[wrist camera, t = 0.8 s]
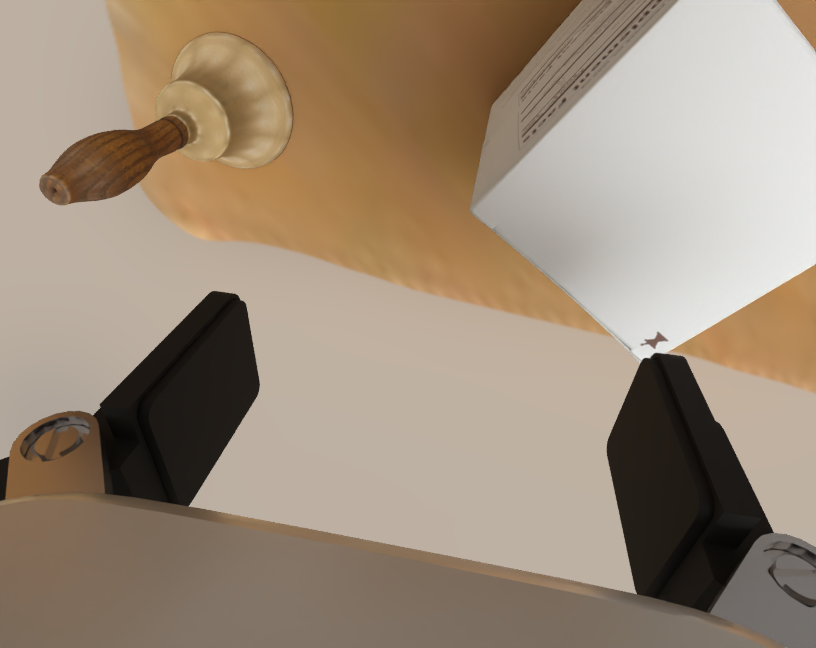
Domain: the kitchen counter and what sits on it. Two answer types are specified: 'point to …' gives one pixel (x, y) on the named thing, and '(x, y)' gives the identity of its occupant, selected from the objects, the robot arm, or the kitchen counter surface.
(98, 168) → the hand bell
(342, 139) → the kitchen counter surface
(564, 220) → the supplement box
